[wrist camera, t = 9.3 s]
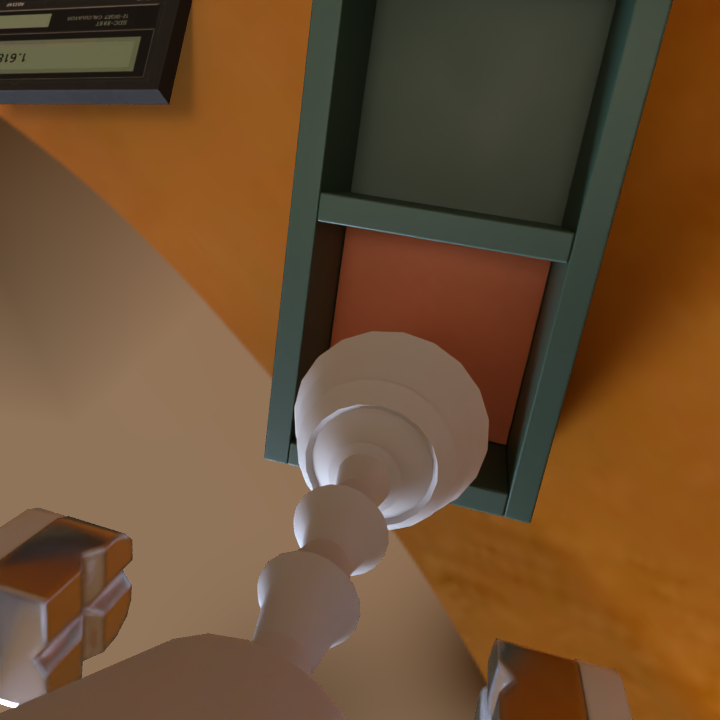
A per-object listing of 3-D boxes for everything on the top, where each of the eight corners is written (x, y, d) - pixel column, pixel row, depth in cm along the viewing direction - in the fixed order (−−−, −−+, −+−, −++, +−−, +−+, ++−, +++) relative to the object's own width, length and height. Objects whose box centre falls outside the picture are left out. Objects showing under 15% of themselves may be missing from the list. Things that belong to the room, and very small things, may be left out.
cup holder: (656, -48, 20) (707, -124, 15) (524, 464, 26) (530, 524, 21) (364, -72, 22) (327, -146, 17) (303, 413, 28) (263, 458, 23)
